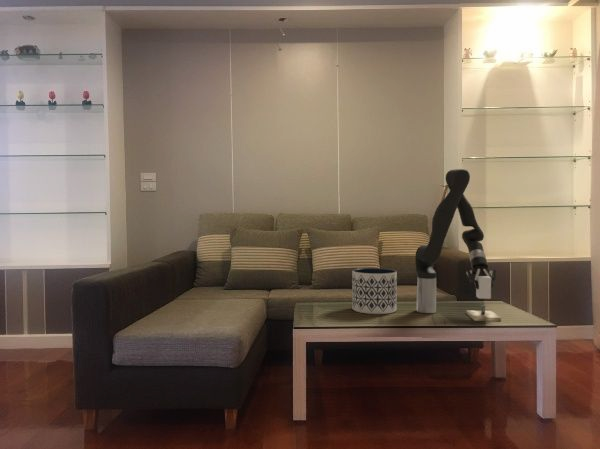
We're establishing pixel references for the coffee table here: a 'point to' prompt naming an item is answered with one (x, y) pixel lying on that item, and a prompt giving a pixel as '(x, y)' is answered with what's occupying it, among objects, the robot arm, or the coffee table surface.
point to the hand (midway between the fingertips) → (484, 288)
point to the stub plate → (483, 315)
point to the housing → (484, 287)
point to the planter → (374, 290)
